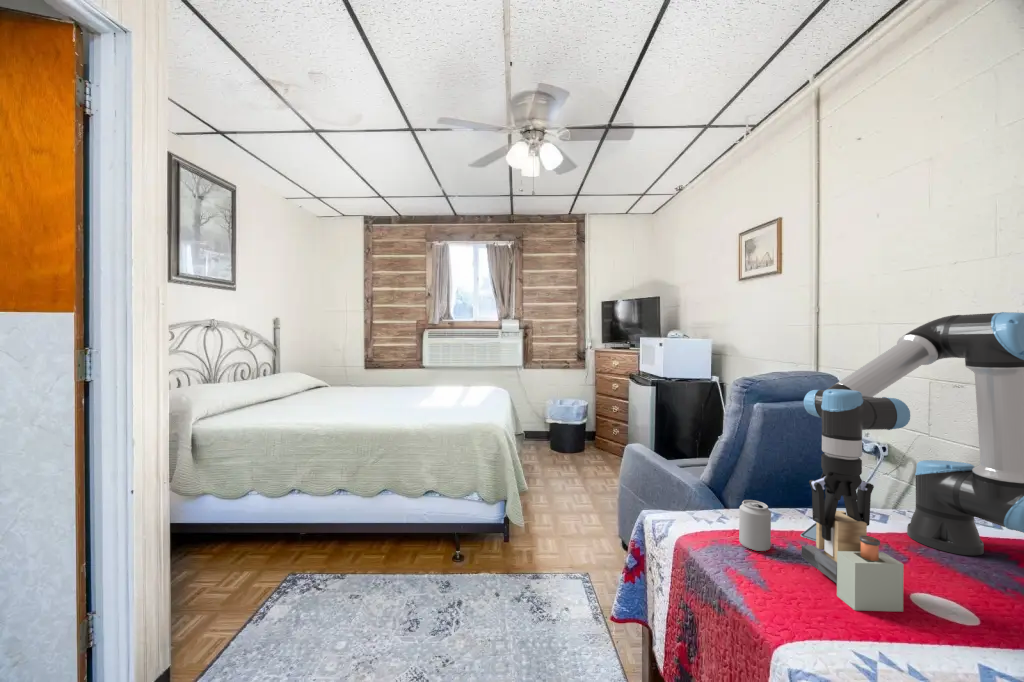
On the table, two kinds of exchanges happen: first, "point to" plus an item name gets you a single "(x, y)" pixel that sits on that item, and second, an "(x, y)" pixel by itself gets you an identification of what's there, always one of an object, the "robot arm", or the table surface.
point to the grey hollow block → (870, 582)
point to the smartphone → (810, 533)
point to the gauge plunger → (869, 548)
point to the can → (755, 525)
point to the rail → (810, 555)
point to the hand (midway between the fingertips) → (840, 553)
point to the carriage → (839, 542)
